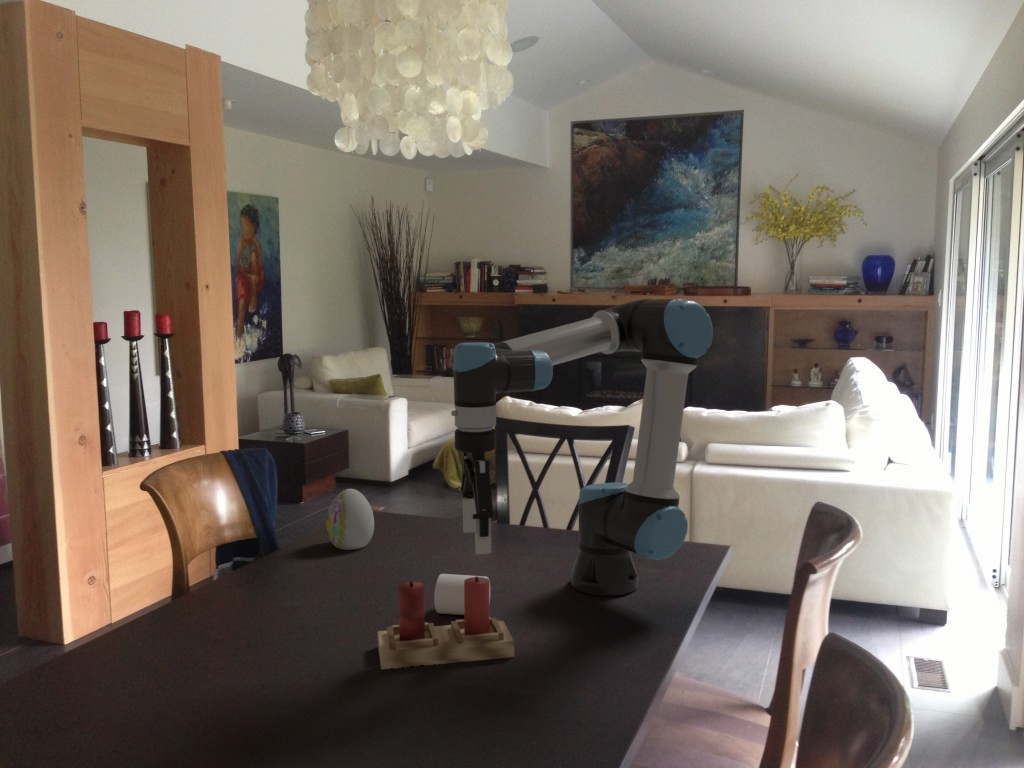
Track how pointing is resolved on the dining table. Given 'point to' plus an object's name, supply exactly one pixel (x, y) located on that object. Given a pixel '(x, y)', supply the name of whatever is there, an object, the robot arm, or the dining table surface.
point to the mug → (451, 593)
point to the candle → (476, 606)
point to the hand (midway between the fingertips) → (476, 542)
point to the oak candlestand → (436, 637)
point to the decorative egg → (350, 520)
